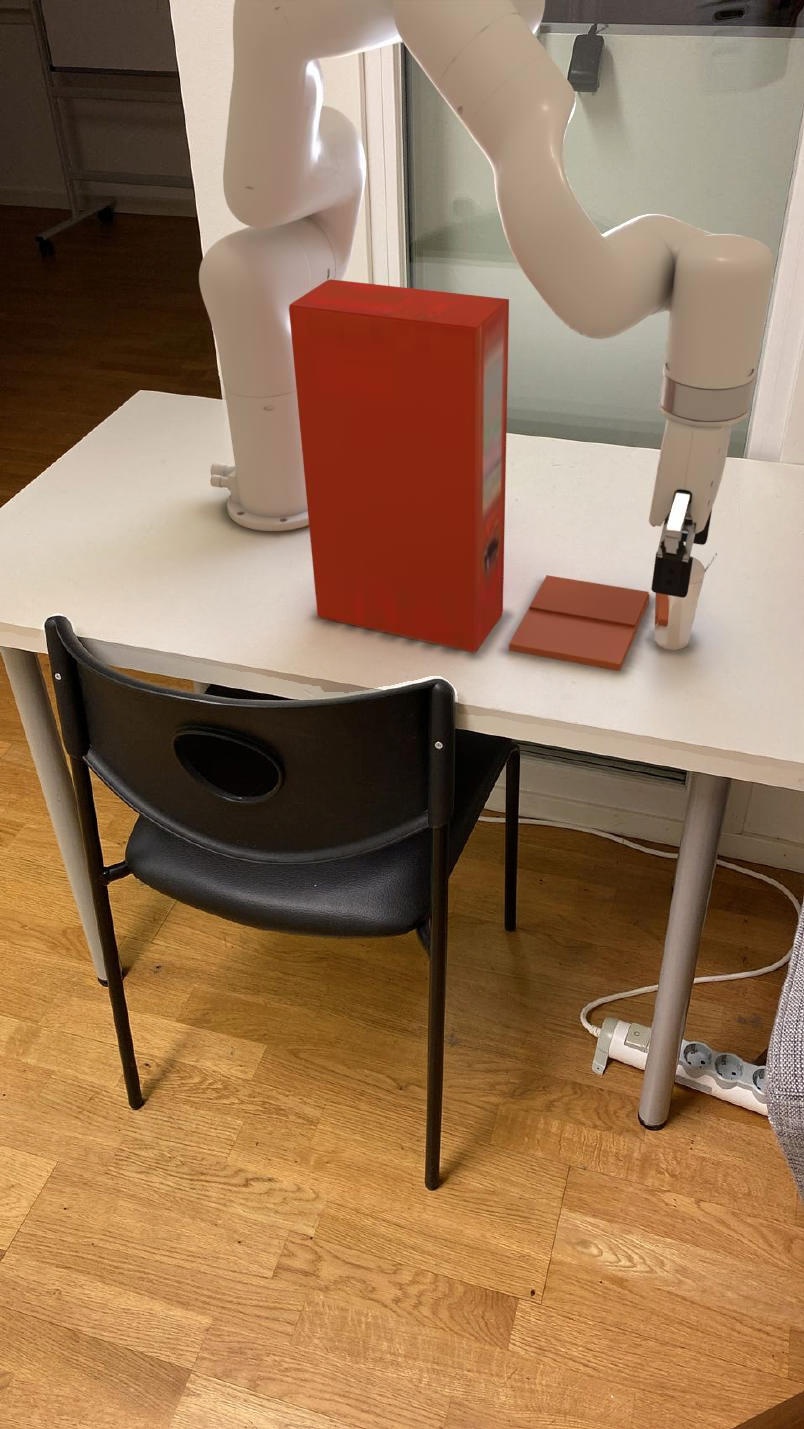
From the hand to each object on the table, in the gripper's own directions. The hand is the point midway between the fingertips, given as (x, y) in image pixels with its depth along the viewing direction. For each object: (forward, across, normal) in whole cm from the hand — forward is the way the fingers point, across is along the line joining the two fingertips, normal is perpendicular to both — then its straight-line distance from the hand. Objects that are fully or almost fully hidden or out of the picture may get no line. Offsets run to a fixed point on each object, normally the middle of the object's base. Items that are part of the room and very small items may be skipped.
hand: (679, 566), depth 110 cm
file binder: (+9, +4, -26) cm, 27 cm away
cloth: (+8, 0, -9) cm, 12 cm away
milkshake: (+8, 0, +1) cm, 9 cm away
